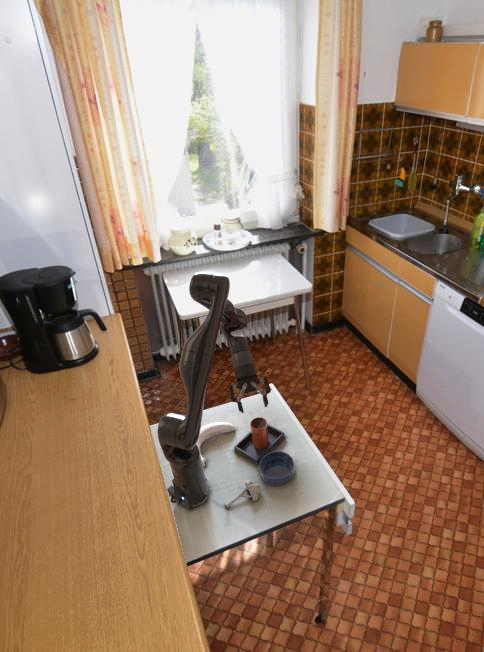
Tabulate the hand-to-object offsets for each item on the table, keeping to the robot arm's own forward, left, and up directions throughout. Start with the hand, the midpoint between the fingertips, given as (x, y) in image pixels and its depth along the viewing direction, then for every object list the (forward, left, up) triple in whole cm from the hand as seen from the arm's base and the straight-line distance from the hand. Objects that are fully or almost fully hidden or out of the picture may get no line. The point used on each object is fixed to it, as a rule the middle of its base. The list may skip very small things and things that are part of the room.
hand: (254, 409), depth 153 cm
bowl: (-9, -17, -12) cm, 22 cm away
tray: (-3, -4, -12) cm, 13 cm away
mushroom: (-23, -14, -12) cm, 30 cm away
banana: (-13, +9, -12) cm, 20 cm away
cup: (-3, -4, -11) cm, 12 cm away
